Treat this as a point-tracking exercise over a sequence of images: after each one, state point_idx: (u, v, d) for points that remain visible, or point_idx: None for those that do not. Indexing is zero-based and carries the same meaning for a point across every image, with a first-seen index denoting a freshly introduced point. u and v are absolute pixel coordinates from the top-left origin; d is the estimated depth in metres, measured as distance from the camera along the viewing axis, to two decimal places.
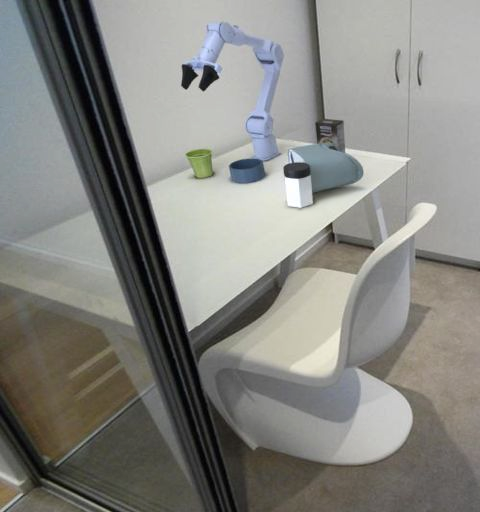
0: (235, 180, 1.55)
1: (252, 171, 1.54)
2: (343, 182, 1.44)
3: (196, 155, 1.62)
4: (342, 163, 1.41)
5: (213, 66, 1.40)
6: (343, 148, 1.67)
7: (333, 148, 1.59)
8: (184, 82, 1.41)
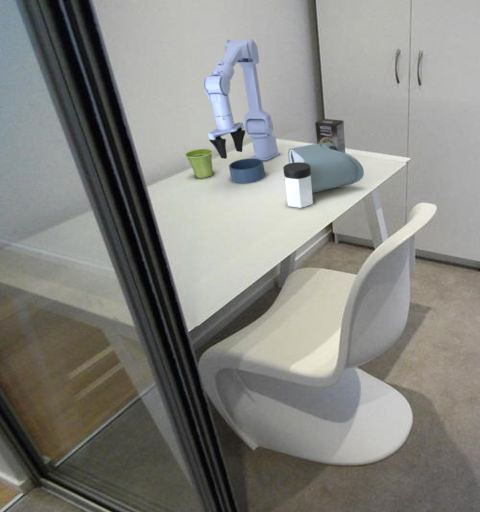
0: (235, 180, 1.55)
1: (252, 171, 1.54)
2: (343, 182, 1.44)
3: (196, 155, 1.62)
4: (342, 163, 1.41)
5: None
6: (343, 148, 1.67)
7: (333, 148, 1.59)
8: None
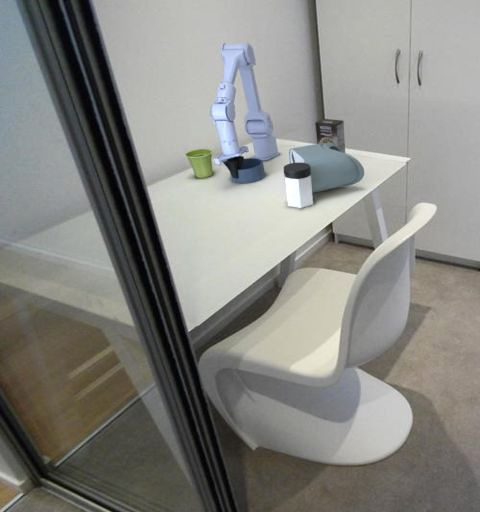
0: (235, 180, 1.55)
1: (252, 171, 1.54)
2: (344, 182, 1.44)
3: (196, 155, 1.62)
4: (343, 164, 1.40)
5: None
6: (343, 148, 1.67)
7: (334, 148, 1.59)
8: None
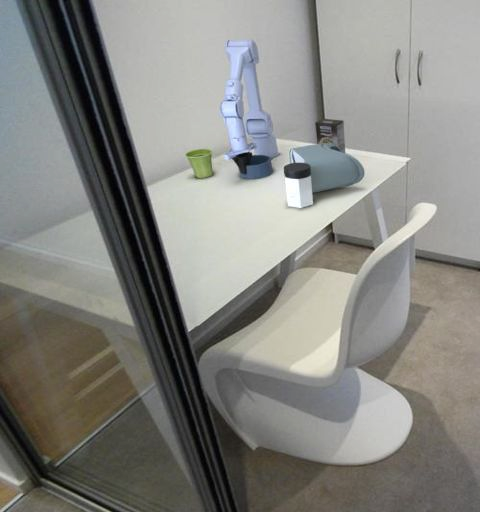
0: (243, 176, 1.59)
1: (260, 167, 1.57)
2: (344, 183, 1.43)
3: (196, 155, 1.62)
4: (343, 164, 1.40)
5: None
6: (343, 148, 1.67)
7: (335, 148, 1.59)
8: None
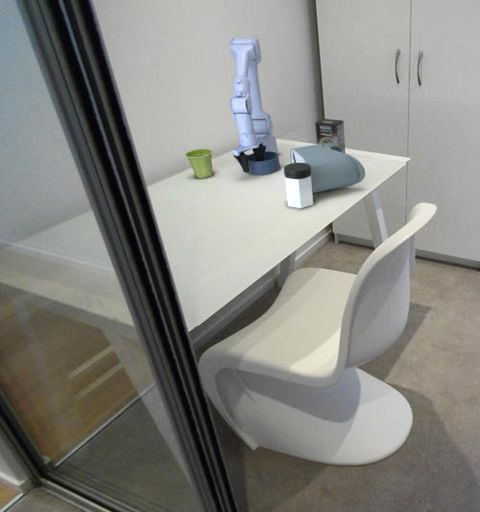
0: (252, 172, 1.62)
1: (268, 163, 1.60)
2: (344, 183, 1.43)
3: (196, 155, 1.62)
4: (343, 164, 1.40)
5: None
6: (343, 148, 1.67)
7: (336, 148, 1.58)
8: None
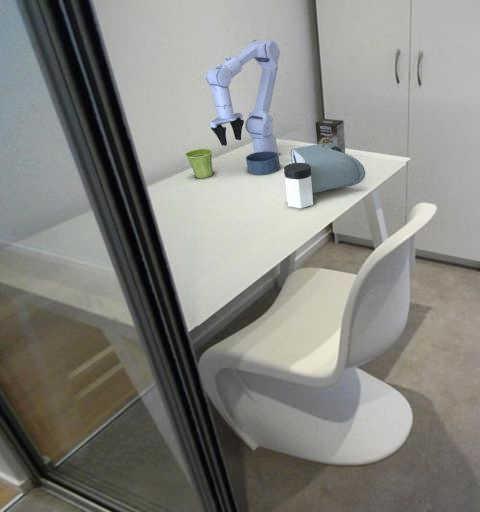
0: (252, 172, 1.62)
1: (268, 163, 1.60)
2: (344, 183, 1.43)
3: (196, 155, 1.62)
4: (344, 164, 1.40)
5: None
6: (343, 148, 1.67)
7: (337, 149, 1.58)
8: None
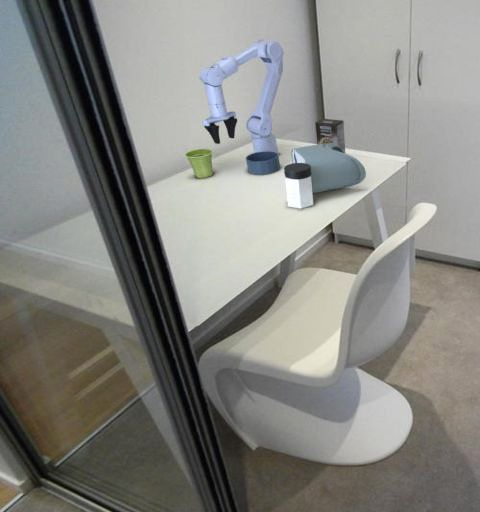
0: (252, 172, 1.62)
1: (268, 163, 1.60)
2: (345, 183, 1.43)
3: (196, 155, 1.62)
4: (344, 164, 1.40)
5: None
6: (343, 148, 1.67)
7: (337, 149, 1.58)
8: None
